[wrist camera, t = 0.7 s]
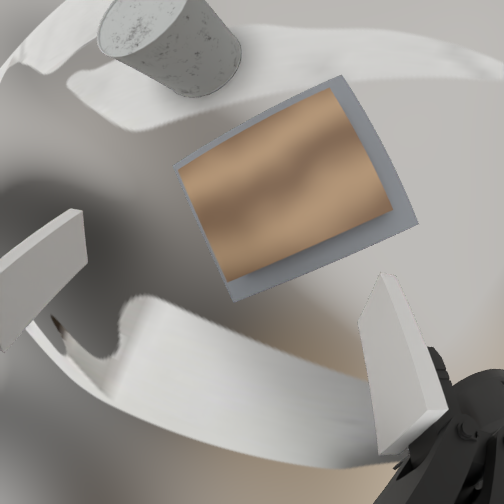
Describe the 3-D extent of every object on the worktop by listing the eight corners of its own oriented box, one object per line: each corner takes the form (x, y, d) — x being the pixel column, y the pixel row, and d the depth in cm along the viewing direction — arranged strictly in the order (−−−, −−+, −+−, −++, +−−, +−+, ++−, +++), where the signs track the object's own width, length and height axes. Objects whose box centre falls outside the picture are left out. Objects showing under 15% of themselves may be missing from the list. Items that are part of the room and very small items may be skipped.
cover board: (385, 209, 26) (393, 209, 21) (243, 272, 30) (227, 282, 26) (332, 104, 25) (329, 87, 21) (199, 174, 30) (177, 169, 26)
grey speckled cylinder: (152, 80, 31) (82, 44, 19) (197, 20, 28) (141, -33, 17) (207, 111, 30) (137, 70, 18) (258, 44, 27) (213, -23, 15)
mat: (417, 223, 25) (418, 224, 25) (234, 301, 32) (233, 302, 31) (341, 76, 25) (341, 74, 25) (174, 166, 32) (172, 165, 31)
